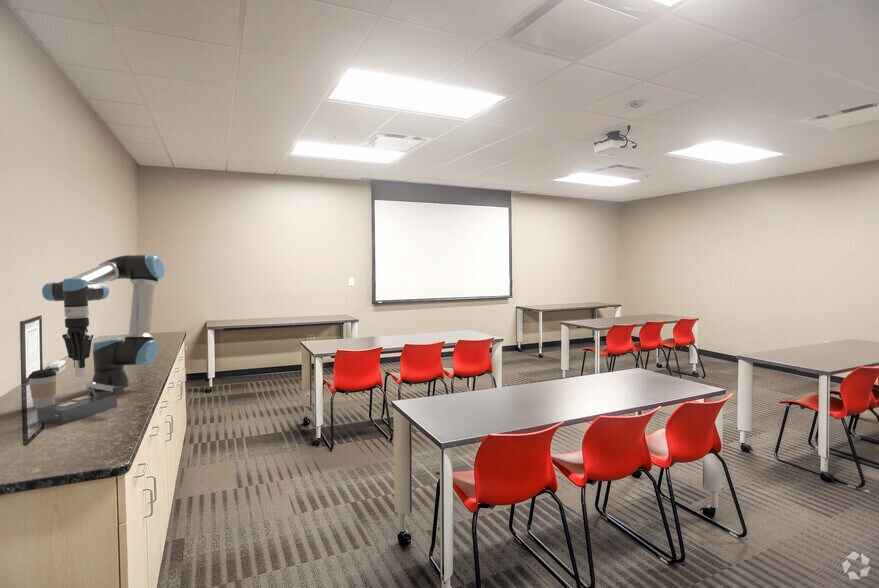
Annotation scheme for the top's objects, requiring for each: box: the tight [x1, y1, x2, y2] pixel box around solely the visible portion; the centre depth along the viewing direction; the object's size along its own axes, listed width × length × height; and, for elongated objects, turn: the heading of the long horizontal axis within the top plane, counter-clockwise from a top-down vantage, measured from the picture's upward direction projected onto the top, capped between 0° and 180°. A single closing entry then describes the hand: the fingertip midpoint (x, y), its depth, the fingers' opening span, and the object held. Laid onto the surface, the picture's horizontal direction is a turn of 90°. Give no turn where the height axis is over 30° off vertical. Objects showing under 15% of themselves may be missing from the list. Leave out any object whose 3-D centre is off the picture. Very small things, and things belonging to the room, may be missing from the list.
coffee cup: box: [27, 368, 57, 409], centre depth 193 cm, size 9×9×15 cm
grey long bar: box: [86, 381, 125, 395], centre depth 187 cm, size 21×3×2 cm, turn 65°
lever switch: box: [36, 388, 118, 425], centre depth 181 cm, size 22×12×8 cm, turn 167°
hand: (80, 375), depth 184 cm, fingers closed
